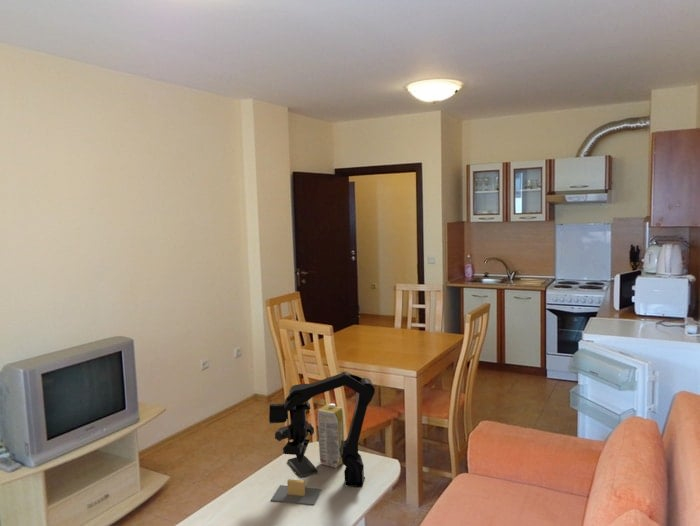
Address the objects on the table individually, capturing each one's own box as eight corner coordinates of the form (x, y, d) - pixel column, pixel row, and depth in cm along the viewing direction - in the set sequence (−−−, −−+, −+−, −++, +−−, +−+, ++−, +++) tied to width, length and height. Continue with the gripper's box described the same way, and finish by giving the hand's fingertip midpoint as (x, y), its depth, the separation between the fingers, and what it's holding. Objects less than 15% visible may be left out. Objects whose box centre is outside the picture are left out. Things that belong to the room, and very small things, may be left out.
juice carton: (347, 461, 214) (345, 404, 211) (336, 470, 207) (334, 411, 204) (328, 456, 219) (326, 400, 216) (317, 464, 212) (314, 406, 209)
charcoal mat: (321, 489, 193) (321, 488, 193) (314, 505, 183) (314, 504, 183) (280, 486, 197) (280, 485, 197) (270, 501, 187) (270, 500, 187)
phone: (299, 476, 202) (286, 459, 215) (299, 479, 202) (286, 462, 215) (318, 471, 205) (304, 454, 219) (319, 473, 205) (305, 457, 219)
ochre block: (305, 493, 190) (304, 480, 190) (304, 495, 189) (303, 482, 188) (289, 492, 192) (288, 479, 191) (287, 494, 190) (287, 481, 190)
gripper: (285, 409, 203) (287, 448, 205) (267, 430, 185) (270, 472, 187) (313, 411, 201) (315, 450, 203) (298, 432, 183) (300, 475, 185)
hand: (300, 461), depth 194 cm, fingers closed
